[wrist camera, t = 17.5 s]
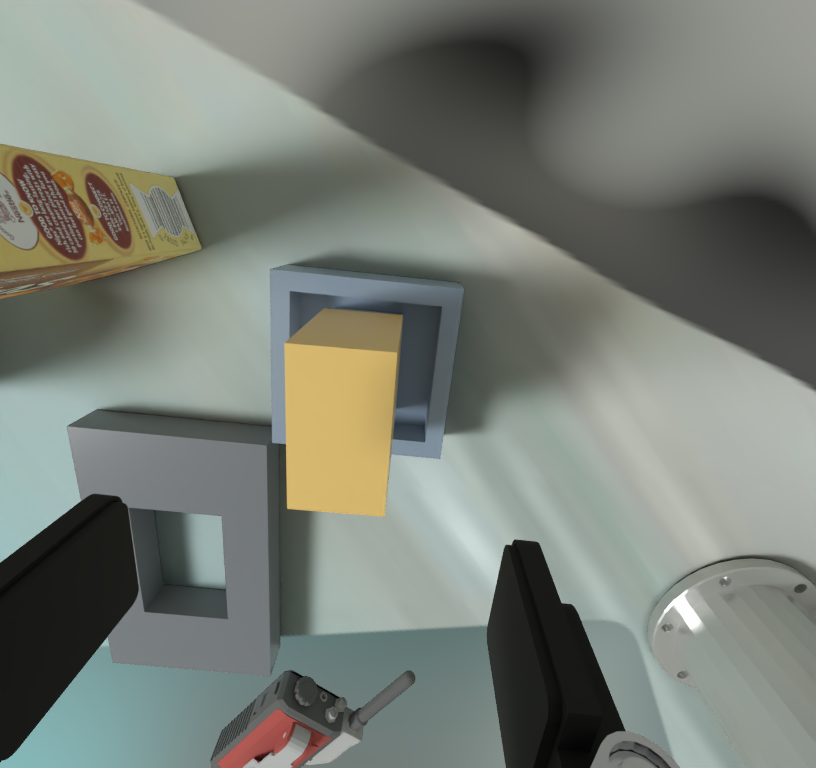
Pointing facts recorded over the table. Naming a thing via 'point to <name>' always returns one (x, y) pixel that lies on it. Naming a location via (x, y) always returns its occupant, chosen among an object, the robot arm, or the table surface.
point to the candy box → (83, 220)
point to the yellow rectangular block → (341, 410)
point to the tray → (420, 345)
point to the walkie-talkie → (297, 725)
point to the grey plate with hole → (200, 494)
